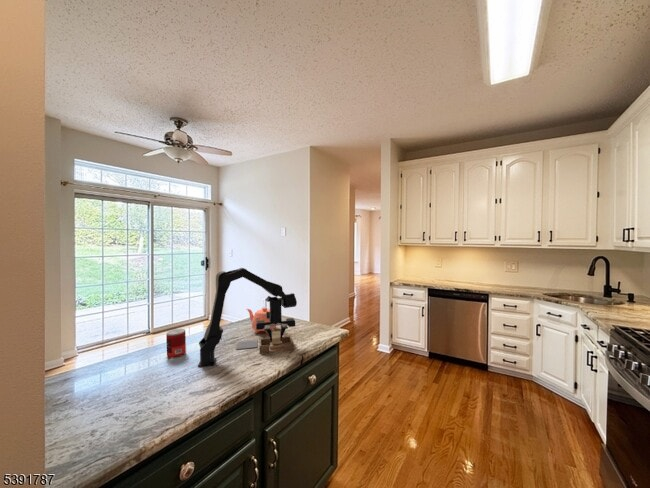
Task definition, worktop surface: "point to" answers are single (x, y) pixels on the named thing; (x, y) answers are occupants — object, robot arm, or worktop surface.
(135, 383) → the worktop surface
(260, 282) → the robot arm
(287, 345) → the box
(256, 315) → the teapot
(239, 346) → the rubber mat
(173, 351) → the canned food
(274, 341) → the maple block
